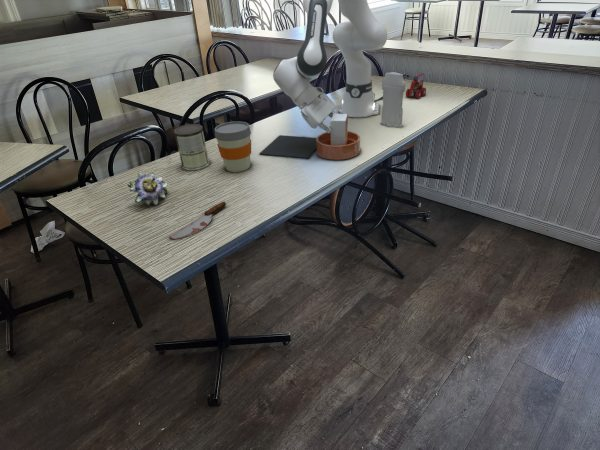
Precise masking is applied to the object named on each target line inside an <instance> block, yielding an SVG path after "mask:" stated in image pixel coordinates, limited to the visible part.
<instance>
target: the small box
mask: <svg viewBox="0 0 600 450" xmlns="http://www.w3.org/2000/svg"><path fill="white" fill-rule="evenodd" d="M348 120H349V116H348V114H343V113H335V114H333V116H332V118H331V119H330V121H329V123H330V127H331V128H332V131H331V146H342V145H346V144H347V133H348V131H349V130H348V129H349V128H348V127H349V126H348V125H349V124H348V123H349V121H348Z"/></svg>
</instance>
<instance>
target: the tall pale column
mask: <svg viewBox="0 0 600 450" xmlns="http://www.w3.org/2000/svg"><path fill="white" fill-rule="evenodd" d="M403 75H404V74H402V73H399V72H395V71H392V72H385V73H384V78H383V79H382V80H381V90H382V96H383V99H382V106H381V118H380V119H381V121H380V122H381V123H380V124H381V125H383V126H387V127H389V128H390V127H392V128H403V127H402V126H403V116H404V115H403V112H404V110H403V101H404V95H405V94H404V93H406V84H407V83H406V82H405V81H404V77H403Z"/></svg>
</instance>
